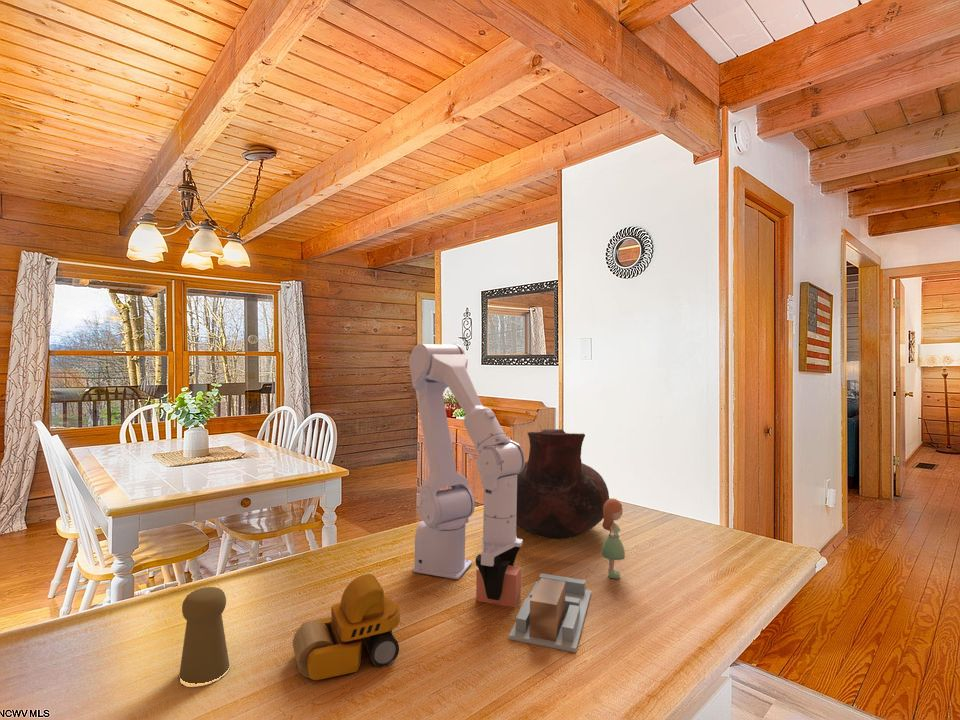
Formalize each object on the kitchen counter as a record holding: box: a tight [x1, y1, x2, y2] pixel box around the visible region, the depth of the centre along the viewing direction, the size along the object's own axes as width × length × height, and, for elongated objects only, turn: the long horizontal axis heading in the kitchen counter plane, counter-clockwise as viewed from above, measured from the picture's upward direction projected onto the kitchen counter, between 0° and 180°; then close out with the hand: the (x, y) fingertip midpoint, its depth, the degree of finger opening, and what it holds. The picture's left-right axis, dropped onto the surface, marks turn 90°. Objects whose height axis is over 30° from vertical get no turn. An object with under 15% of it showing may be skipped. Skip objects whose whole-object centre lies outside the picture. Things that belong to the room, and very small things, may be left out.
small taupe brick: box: [529, 578, 566, 642], centre depth 82 cm, size 4×8×6 cm, turn 161°
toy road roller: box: [292, 573, 401, 681], centre depth 74 cm, size 9×14×10 cm, turn 117°
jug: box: [516, 428, 610, 540], centre depth 125 cm, size 25×25×25 cm
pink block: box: [475, 565, 522, 608], centre depth 92 cm, size 7×4×6 cm, turn 72°
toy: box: [601, 497, 626, 579], centre depth 101 cm, size 13×4×15 cm, turn 168°
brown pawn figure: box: [178, 586, 230, 684], centre depth 70 cm, size 6×6×11 cm
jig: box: [508, 572, 592, 653], centre depth 87 cm, size 10×19×3 cm, turn 161°
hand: (498, 590), depth 92 cm, fingers open, 5 cm apart
